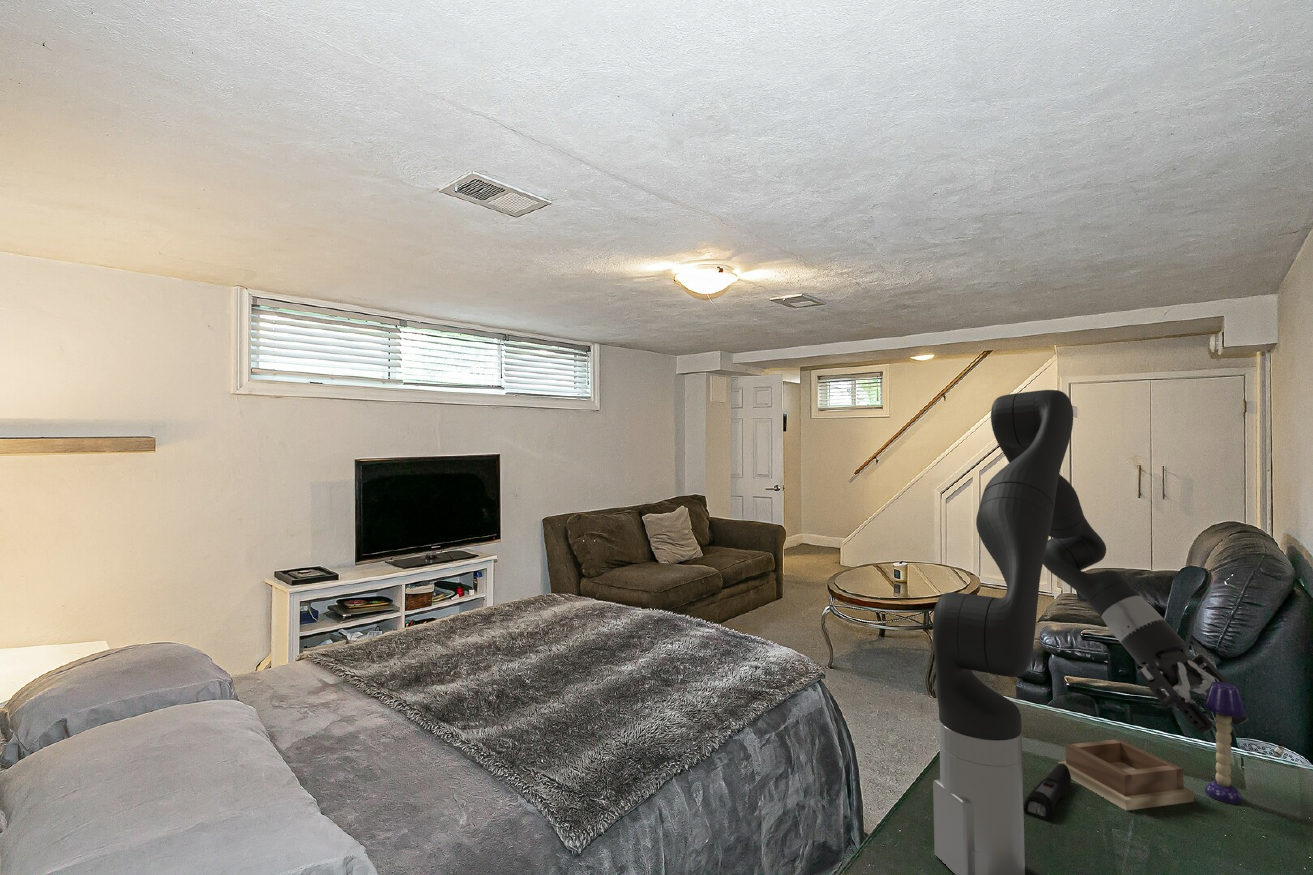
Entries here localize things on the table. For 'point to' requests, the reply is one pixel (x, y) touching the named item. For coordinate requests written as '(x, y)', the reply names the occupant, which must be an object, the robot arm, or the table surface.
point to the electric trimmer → (1048, 794)
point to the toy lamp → (1224, 738)
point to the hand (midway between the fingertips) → (1225, 726)
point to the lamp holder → (1126, 774)
